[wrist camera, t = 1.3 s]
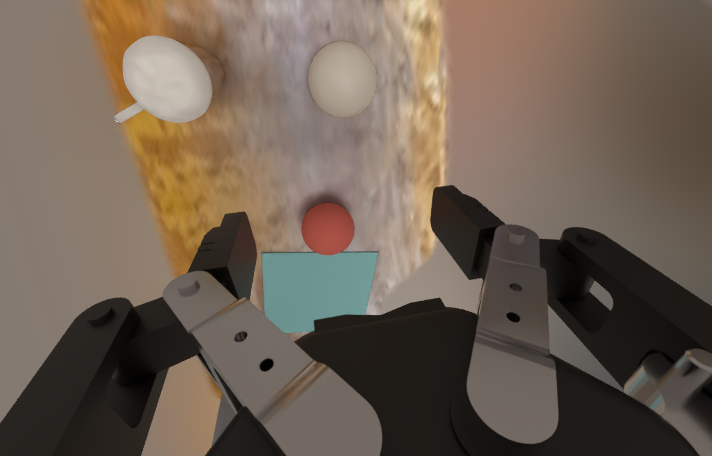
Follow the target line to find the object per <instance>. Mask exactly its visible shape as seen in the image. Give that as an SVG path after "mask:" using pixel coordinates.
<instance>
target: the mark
mask: <svg viewBox="0 0 712 456" xmlns="http://www.w3.org/2000/svg"><path fill="white" fill-rule="evenodd" d="M377 256H378V252H340V253H338V254H335V255H321V254H318V253H316V252H262V264H263V288H264V312H265V316H266V317H267V318H268V319H269V320H270V321H271V322H273V323H274V324H275V325H276V326H277V327H278V328H279V329H280V330H281V331H282V332H283V333H295V332H310V331H314V320H317V319H323V318H328V317H334V316H339V315H345V314H352V315H365V314H366V309H367V304H368V299H369V295H370V290H371V285H372V280H373V275H374V270H375V266H376V261H377Z"/></svg>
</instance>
